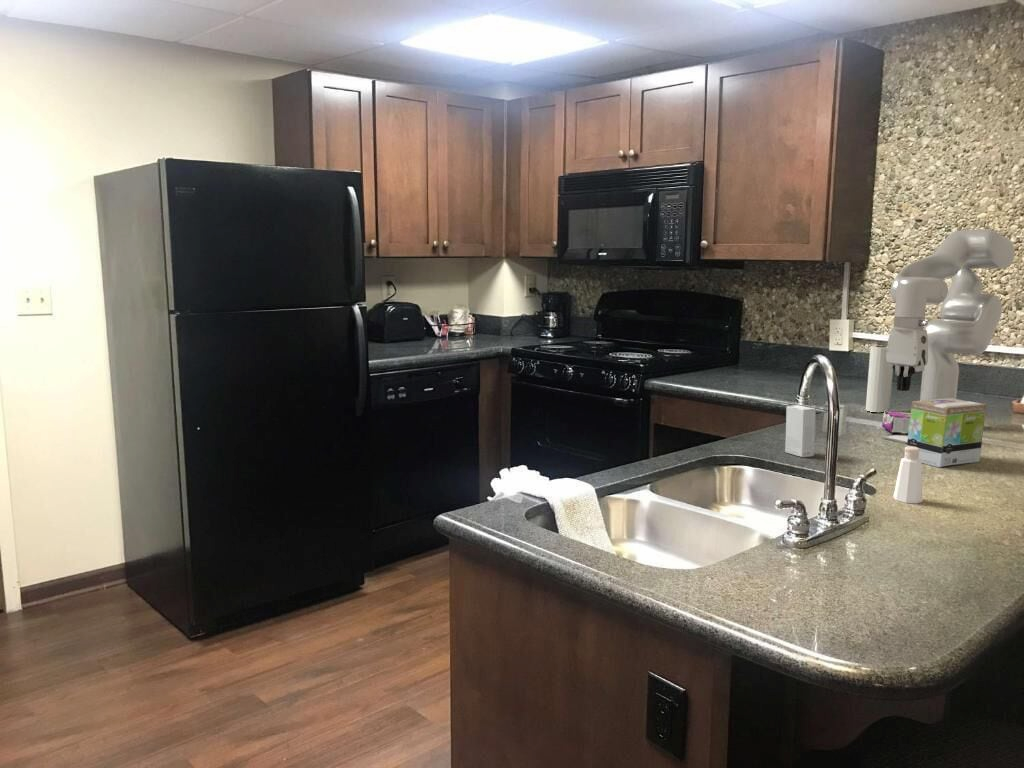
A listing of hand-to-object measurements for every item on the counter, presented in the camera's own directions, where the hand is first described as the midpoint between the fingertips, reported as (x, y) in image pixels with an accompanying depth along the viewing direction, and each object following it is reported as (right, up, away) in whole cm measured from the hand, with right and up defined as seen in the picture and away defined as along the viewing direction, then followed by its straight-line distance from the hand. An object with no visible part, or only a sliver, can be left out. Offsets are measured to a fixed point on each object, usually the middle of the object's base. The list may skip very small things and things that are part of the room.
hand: (903, 390), depth 226 cm
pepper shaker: (-27, -22, -58) cm, 68 cm away
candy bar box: (-1, -9, +7) cm, 12 cm away
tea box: (-2, -17, -24) cm, 30 cm away
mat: (+4, -14, -4) cm, 15 cm away
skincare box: (-36, -16, -20) cm, 44 cm away
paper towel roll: (+10, -8, +39) cm, 41 cm away
